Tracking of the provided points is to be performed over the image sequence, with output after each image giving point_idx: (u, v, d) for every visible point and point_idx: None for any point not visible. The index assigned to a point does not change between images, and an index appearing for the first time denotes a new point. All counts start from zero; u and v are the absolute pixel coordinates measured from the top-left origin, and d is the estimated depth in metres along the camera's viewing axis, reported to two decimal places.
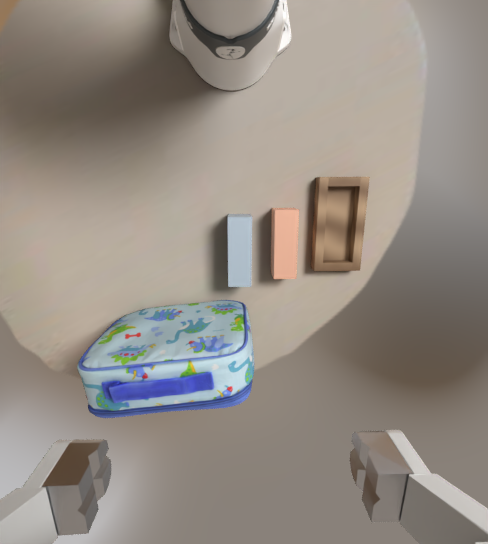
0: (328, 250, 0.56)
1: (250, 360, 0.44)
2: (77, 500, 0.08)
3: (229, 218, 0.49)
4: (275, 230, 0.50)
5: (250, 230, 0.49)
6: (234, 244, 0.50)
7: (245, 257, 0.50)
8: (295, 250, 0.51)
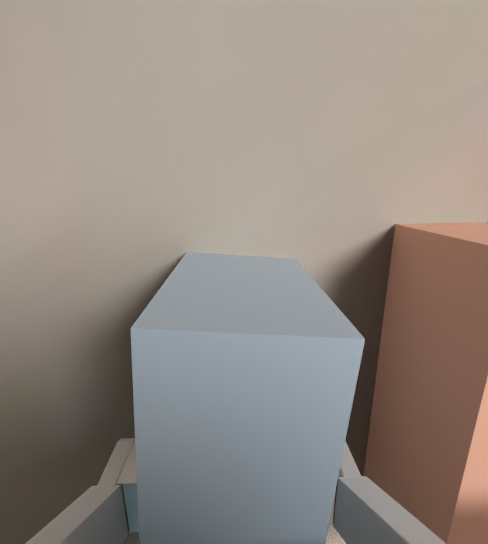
0: None
1: None
2: None
3: (149, 341, 0.05)
4: (486, 391, 0.07)
5: (333, 440, 0.06)
6: (190, 529, 0.06)
7: None
8: None
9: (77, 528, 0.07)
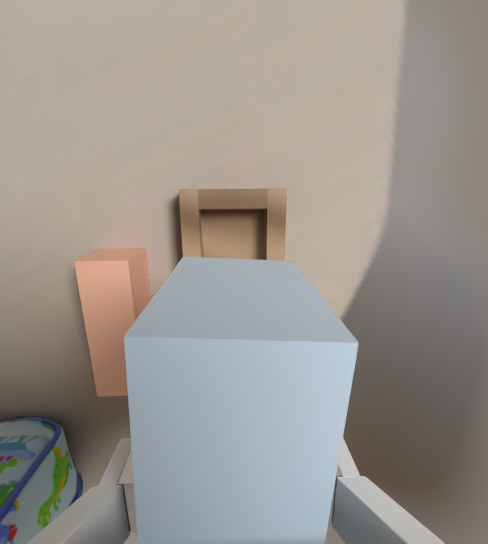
0: None
1: None
2: None
3: (143, 349, 0.05)
4: (83, 303, 0.23)
5: (329, 443, 0.06)
6: (189, 534, 0.06)
7: None
8: None
9: (78, 529, 0.07)
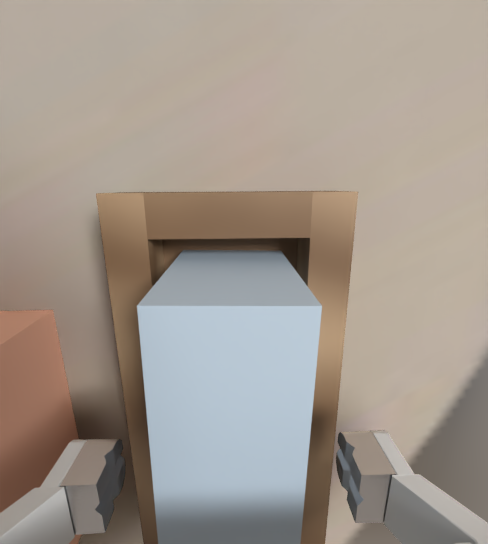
0: None
1: None
2: (95, 499, 0.08)
3: (152, 315, 0.06)
4: None
5: (304, 391, 0.07)
6: (194, 472, 0.08)
7: (263, 529, 0.08)
8: None
9: (11, 531, 0.07)
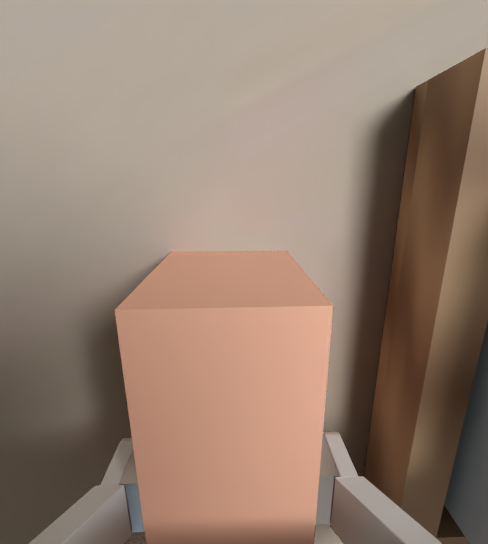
0: None
1: None
2: None
3: None
4: (142, 455, 0.06)
5: None
6: None
7: None
8: None
9: (80, 528, 0.07)
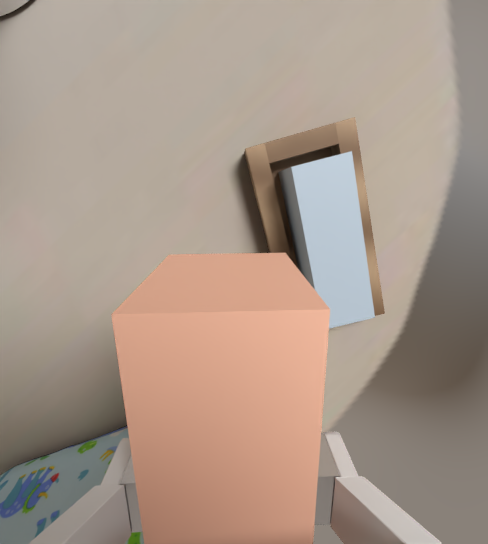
0: None
1: None
2: None
3: (296, 169, 0.19)
4: (140, 458, 0.06)
5: (353, 186, 0.20)
6: (319, 231, 0.20)
7: (350, 253, 0.21)
8: None
9: (80, 529, 0.07)
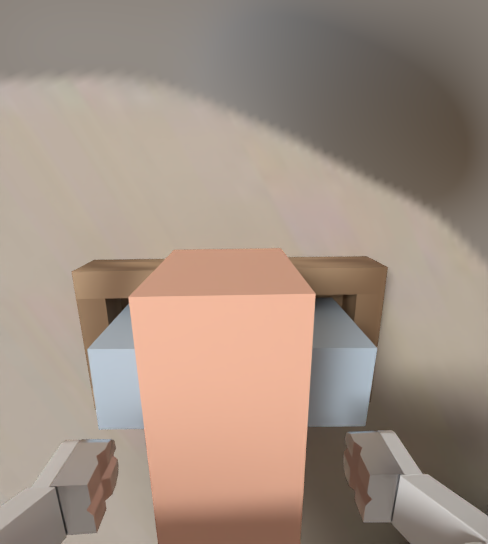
0: None
1: None
2: (86, 500, 0.08)
3: (103, 423, 0.13)
4: (150, 425, 0.07)
5: None
6: None
7: None
8: (289, 527, 0.08)
9: (0, 532, 0.07)
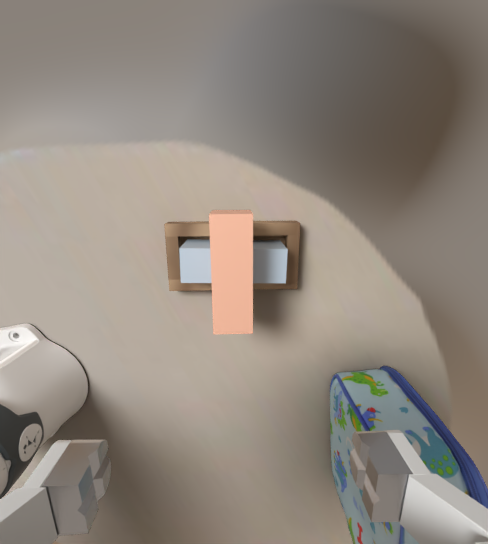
0: None
1: (418, 455, 0.29)
2: (77, 500, 0.08)
3: (182, 280, 0.34)
4: (211, 250, 0.28)
5: (199, 250, 0.33)
6: None
7: None
8: (249, 286, 0.29)
9: None
